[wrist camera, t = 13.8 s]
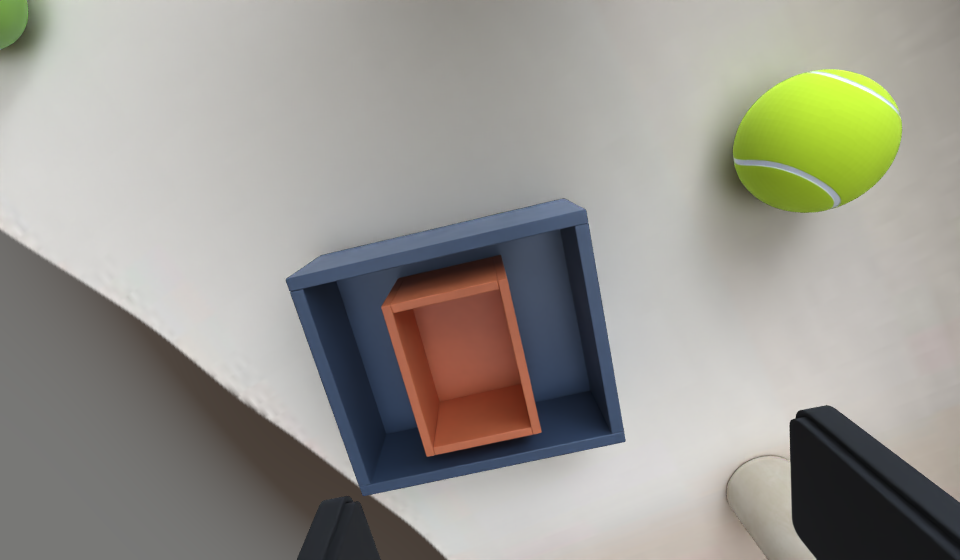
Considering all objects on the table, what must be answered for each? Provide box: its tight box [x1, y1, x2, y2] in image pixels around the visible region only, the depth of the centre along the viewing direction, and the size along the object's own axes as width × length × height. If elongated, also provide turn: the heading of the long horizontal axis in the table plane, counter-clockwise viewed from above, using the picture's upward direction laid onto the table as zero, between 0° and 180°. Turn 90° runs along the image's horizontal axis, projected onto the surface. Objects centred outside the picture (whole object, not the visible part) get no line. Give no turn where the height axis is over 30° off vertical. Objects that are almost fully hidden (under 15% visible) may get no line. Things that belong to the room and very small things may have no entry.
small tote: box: [381, 255, 542, 457], centre depth 27 cm, size 9×6×6 cm
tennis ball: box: [733, 70, 902, 213], centre depth 24 cm, size 7×7×7 cm
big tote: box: [286, 198, 625, 496], centre depth 28 cm, size 13×15×6 cm
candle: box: [727, 456, 817, 560], centre depth 29 cm, size 6×6×10 cm
